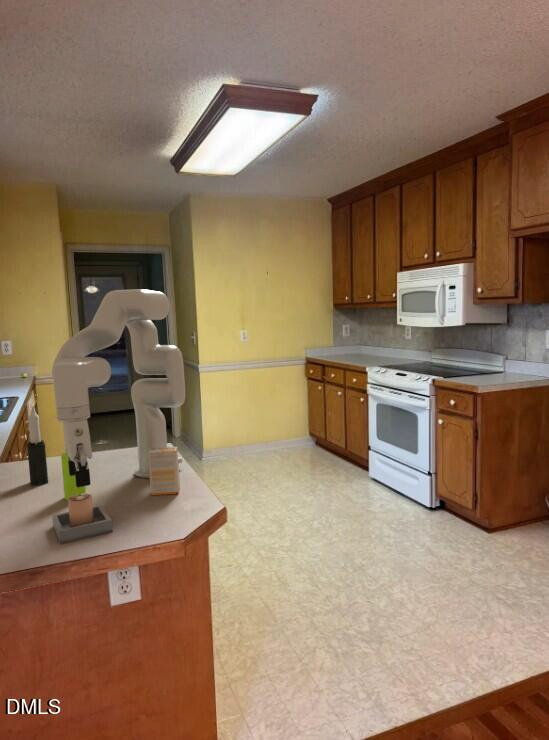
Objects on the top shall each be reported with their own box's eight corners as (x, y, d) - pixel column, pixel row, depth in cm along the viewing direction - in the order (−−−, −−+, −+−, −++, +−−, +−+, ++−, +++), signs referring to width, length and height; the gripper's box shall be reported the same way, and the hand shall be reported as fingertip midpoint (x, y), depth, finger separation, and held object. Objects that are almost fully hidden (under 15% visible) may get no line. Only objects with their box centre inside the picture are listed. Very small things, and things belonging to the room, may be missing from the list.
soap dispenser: (93, 493, 155) (88, 427, 152) (75, 501, 148) (69, 433, 146) (78, 491, 157) (73, 426, 155) (60, 499, 151) (54, 431, 149)
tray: (101, 516, 137) (101, 505, 137) (112, 531, 127) (111, 520, 126) (53, 526, 131) (52, 515, 131) (59, 544, 121) (58, 531, 120)
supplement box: (180, 488, 156) (178, 446, 155) (178, 494, 152) (176, 450, 150) (152, 490, 156) (150, 447, 155) (150, 495, 151) (147, 452, 150)
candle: (31, 486, 164) (24, 408, 161) (30, 481, 168) (23, 405, 165) (48, 483, 166) (42, 406, 163) (47, 479, 170) (40, 403, 168)
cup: (91, 520, 133) (89, 490, 132) (96, 527, 128) (93, 496, 127) (68, 525, 130) (65, 494, 129) (72, 533, 125) (69, 501, 124)
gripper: (96, 416, 120) (103, 487, 123) (82, 404, 135) (88, 468, 137) (62, 421, 116) (69, 494, 119) (51, 408, 131) (58, 473, 134)
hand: (79, 480), depth 128 cm, fingers open, 9 cm apart
